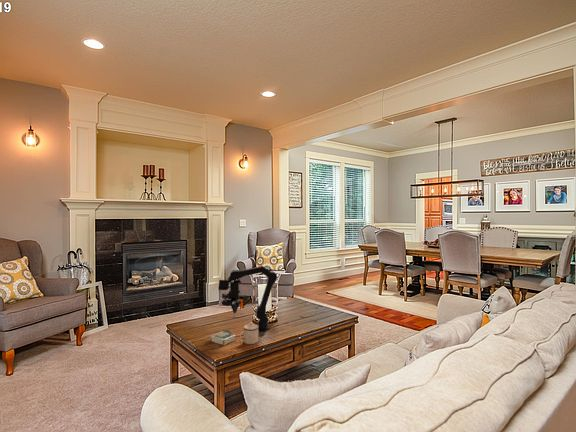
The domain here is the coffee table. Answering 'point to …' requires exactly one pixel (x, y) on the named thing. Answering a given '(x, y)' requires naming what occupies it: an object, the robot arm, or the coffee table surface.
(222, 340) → the cream flat base plank
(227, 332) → the cabinet
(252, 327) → the white printed mug
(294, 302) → the coffee table surface
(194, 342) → the coffee table surface
